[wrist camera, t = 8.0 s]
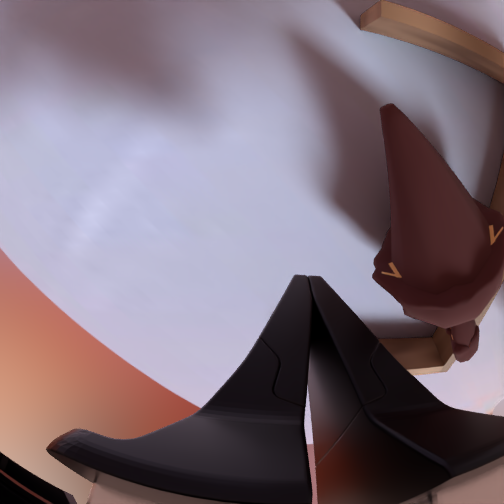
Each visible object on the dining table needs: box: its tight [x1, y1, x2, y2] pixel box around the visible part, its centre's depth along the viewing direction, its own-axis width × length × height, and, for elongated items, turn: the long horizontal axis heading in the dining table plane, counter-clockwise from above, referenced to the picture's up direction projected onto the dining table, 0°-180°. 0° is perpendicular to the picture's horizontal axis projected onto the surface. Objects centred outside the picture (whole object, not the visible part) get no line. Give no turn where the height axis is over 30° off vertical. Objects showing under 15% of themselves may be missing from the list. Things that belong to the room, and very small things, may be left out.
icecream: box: [372, 103, 504, 362], centre depth 12 cm, size 7×7×15 cm
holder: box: [360, 0, 504, 375], centre depth 13 cm, size 11×20×3 cm, turn 178°
